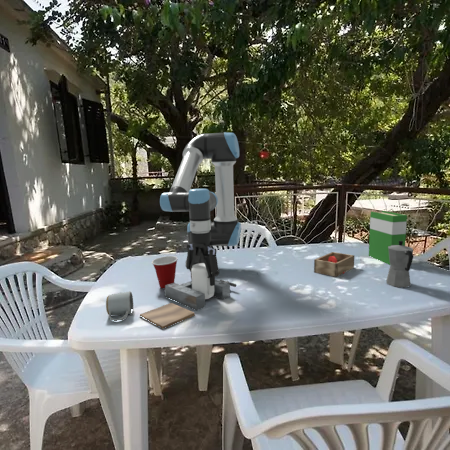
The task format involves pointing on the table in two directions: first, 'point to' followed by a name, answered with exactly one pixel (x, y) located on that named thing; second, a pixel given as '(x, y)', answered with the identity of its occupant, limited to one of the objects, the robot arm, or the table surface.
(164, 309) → the pad
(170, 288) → the c-clamp
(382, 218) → the green cereal box
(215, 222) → the robot arm
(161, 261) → the plastic cup
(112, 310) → the ceramic mug
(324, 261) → the crate frame
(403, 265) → the coffeepot
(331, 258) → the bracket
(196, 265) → the beverage can
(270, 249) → the table surface
